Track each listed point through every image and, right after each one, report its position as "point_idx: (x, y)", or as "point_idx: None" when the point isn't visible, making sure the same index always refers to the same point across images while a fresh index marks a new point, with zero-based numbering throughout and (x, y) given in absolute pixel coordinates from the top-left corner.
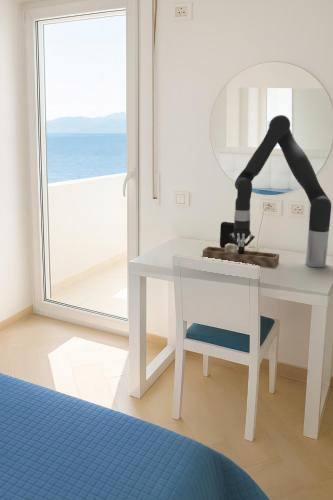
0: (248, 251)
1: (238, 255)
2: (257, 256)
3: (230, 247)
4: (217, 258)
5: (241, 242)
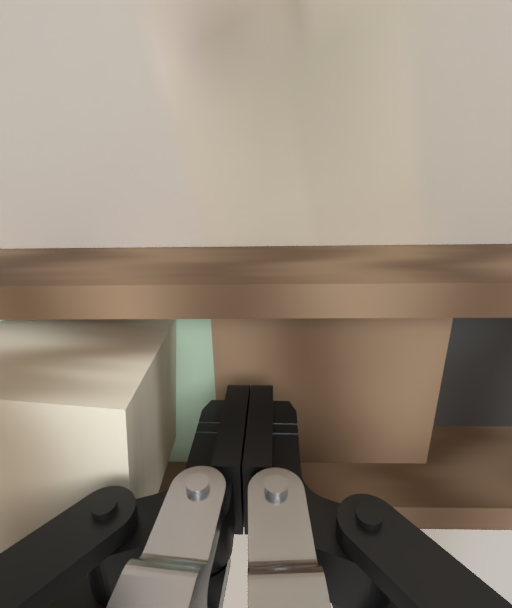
0: (345, 314)
1: None
2: (506, 527)
3: None
4: None
5: (215, 538)
